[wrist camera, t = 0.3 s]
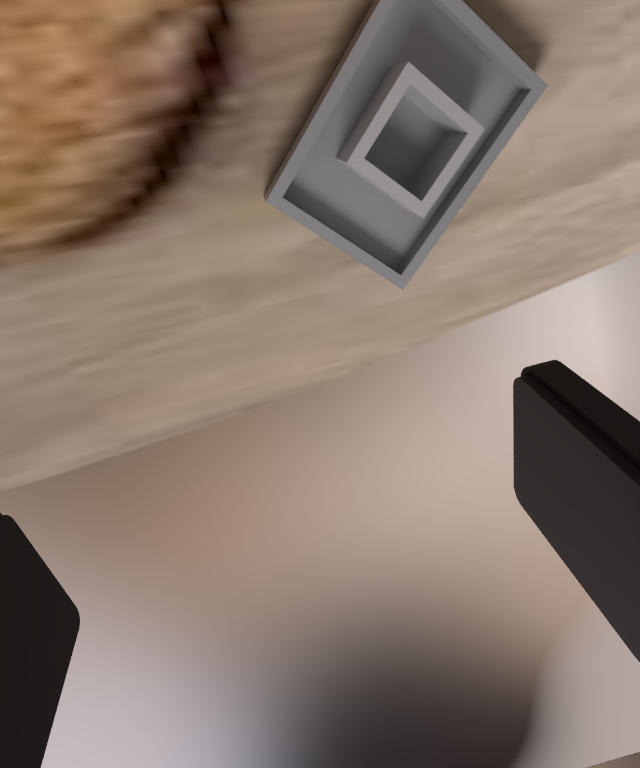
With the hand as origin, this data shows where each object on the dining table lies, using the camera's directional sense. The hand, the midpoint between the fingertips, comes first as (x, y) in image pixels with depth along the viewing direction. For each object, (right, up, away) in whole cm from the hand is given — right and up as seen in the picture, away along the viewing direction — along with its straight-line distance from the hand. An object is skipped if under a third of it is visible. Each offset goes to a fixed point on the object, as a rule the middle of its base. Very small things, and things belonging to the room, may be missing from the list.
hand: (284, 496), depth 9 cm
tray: (+6, +19, +26) cm, 33 cm away
